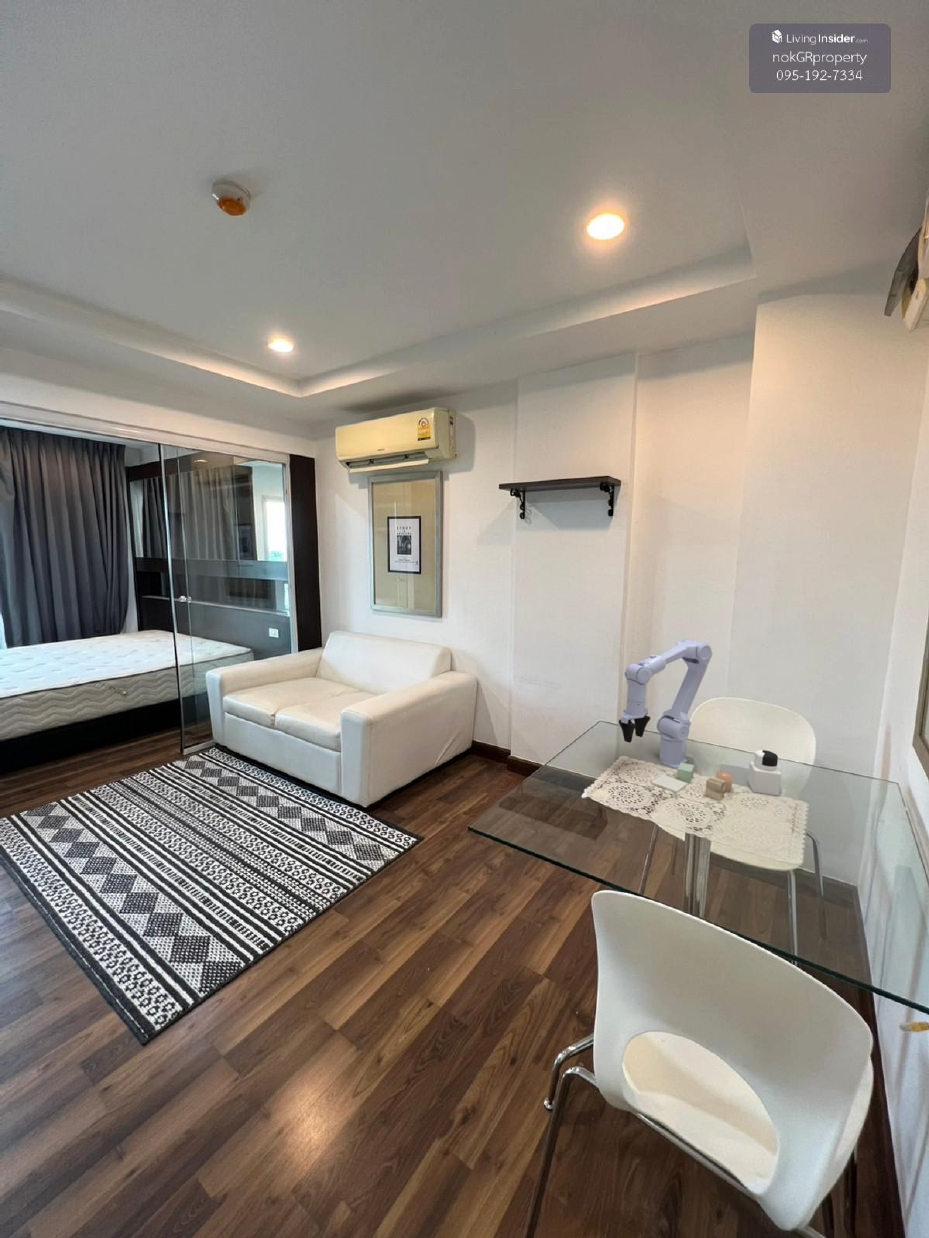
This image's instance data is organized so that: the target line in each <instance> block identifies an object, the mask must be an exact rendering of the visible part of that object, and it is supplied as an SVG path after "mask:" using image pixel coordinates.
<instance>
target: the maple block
mask: <svg viewBox="0 0 929 1238" xmlns="http://www.w3.org/2000/svg"><path fill="white" fill-rule="evenodd" d="M705 782H706V783H705V794H704V795H705V797H707V798H709V797H710V798H709V799H713V800H715V801H717V802H719V801H721V800H722V799H723V798H724V797H725V793H726V792H725V782H726V781H724V780H721V779H718V778H716V777H714V776H710V777H709V778H707V779H706V781H705Z"/></svg>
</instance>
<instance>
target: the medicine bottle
mask: <svg viewBox="0 0 929 1238" xmlns="http://www.w3.org/2000/svg"><path fill="white" fill-rule="evenodd" d="M778 760H779V756H778V755H777V754H776V753H774V752H773V751H771V750H765V749H759V750H756V751H754V760H753V761H750V762H749V768H748V779H747V783H748V786H749V787H750V789H751V790H752V792H753V793H758V794H764V795H765V794H766V795H772V796H778V797H779V796H780V793H781V792H780V789H781V782H782V781H781V780H782V773H781V772H780V770H779V768H778Z"/></svg>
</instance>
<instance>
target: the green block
mask: <svg viewBox="0 0 929 1238" xmlns="http://www.w3.org/2000/svg"><path fill="white" fill-rule="evenodd" d="M694 770H695V765H694V764H690V763H686V762H685V763H682V762H681V763H680V765H679V767H677V770H676V771H677V772H676V779H677V780H680V781H683V782H686V783H688V784H691V782H692V780H693V778H694V773H695V771H694Z"/></svg>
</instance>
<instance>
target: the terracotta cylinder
mask: <svg viewBox="0 0 929 1238" xmlns="http://www.w3.org/2000/svg"><path fill="white" fill-rule="evenodd" d="M733 776H734V775H733V774H732V772H728V771H725V770H717V771H716V777H715V778H718V779H721V780H724V781H726V782H725V793H731V792H732V789H733V788H732V787H733V778H734V777H733Z"/></svg>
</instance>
